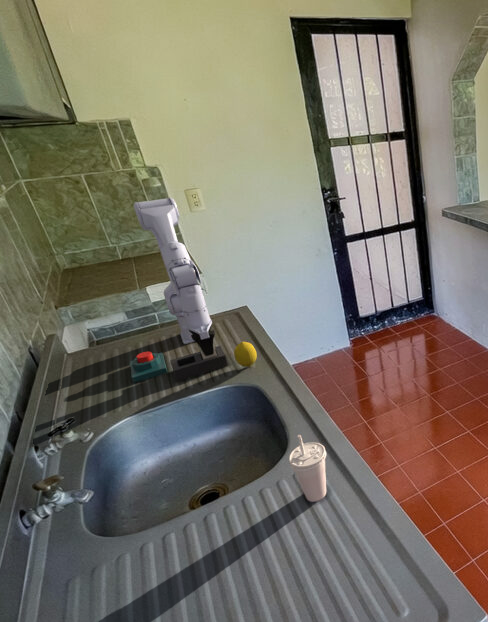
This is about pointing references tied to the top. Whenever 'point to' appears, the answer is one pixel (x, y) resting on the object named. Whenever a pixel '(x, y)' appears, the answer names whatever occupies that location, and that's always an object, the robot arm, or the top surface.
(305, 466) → the smoothie
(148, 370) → the switch block
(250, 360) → the lemon
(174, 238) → the robot arm
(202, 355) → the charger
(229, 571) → the top surface
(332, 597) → the top surface
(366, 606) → the top surface
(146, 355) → the power button
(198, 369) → the dark grey slotted block
